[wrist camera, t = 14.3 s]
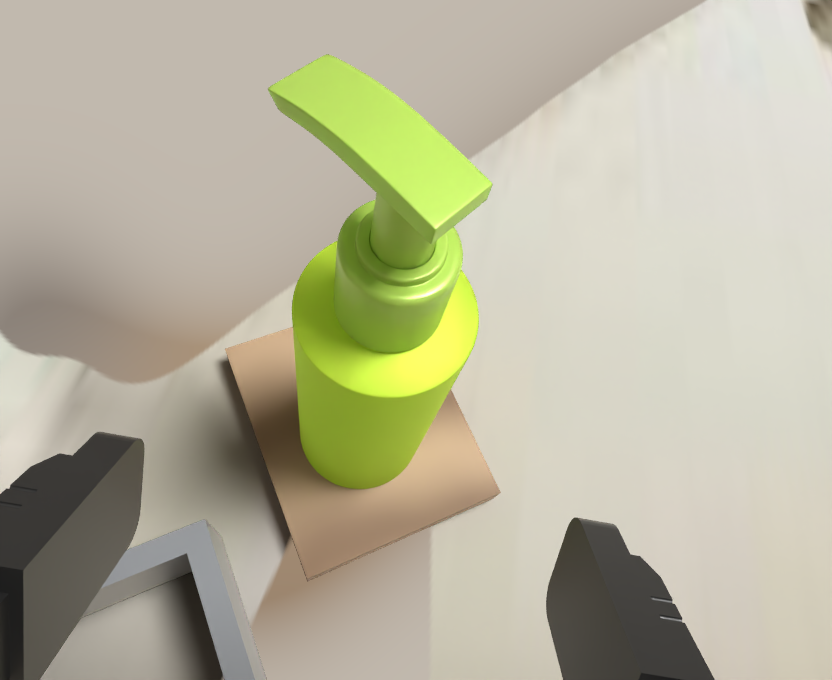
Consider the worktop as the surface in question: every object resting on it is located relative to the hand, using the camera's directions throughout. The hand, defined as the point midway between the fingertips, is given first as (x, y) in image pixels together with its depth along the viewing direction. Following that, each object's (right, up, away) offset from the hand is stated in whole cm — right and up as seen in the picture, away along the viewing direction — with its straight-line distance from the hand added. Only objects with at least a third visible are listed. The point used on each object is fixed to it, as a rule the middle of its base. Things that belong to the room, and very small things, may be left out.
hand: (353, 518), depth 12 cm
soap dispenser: (-2, -1, +20) cm, 20 cm away
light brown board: (-2, -1, +21) cm, 21 cm away
